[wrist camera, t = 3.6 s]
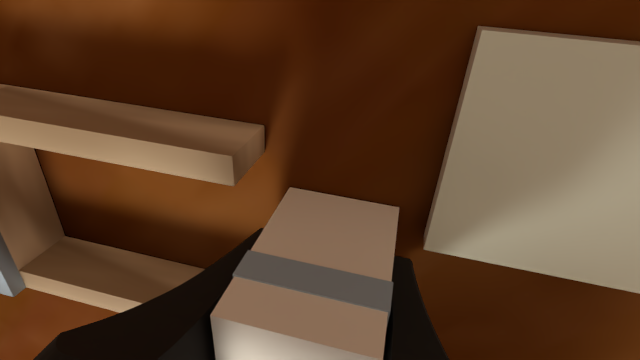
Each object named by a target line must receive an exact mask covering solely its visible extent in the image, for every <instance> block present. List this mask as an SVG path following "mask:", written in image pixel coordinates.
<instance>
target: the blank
mask: <svg viewBox="0 0 640 360" xmlns="http://www.w3.org/2000/svg"><path fill="white" fill-rule="evenodd" d="M398 216H399V207H395V206H389V205H384V204H378V203H373V202H368V201H362V200H357V199H351V198H346V197H341V196H335V195H330V194H325V193H319V192H314V191H308V190H303V189H298V188H292V187H290V188H289V189H288V191H287V192H286V194H285V196H284V197H283V199H282V200H281V202H280V204H279V205H278V207H277V208H276V210H275V212H274V213H273V215H272V217H271V218H270V220H269V221H268V223H267V225H266V226H265V228H264V229H263V231H262V233H261V234H260V236H259V237H258V239H257V241H256V242H255V244H254V246H253V247H252V249H251V250H248V251H247V252H246V254H245V255H244V257H243V259H242V260H241V262H240V263H239V265H238V267H237V268H236V270H235V271H234V273H233V279H232V281H231V283H230V284H229V286H228V287H227V289H226V291H225V292H224V294H223V295H222V297H221V299H220V300H219V302H218V303H217V305H216V307H215V308H214V310H213V312H212V313H211V315H210V319H211V327H212V334H213V342H214V350H215V358H216V360H383V355H384V345H385V336H386V329H387V324H388V320H389V316H390V311H391V301H392V291H393V282H391V281H392V271H393V262H394V253H395V244H396V234H397V225H398Z"/></svg>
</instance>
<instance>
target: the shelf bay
mask: <svg viewBox="0 0 640 360" xmlns="http://www.w3.org/2000/svg"><path fill="white" fill-rule="evenodd" d="M34 148H36V149H41V150H46V151H52V152H57V153H62V154H67V155H72V156H78V157H83V158H88V159H93V160H99V161H104V162H109V163H114V164H120V165H125V166H130V167H135V168H141V169H146V170H151V171H156V172H161V173H167V174H172V175H177V176H182V177H188V178H193V179H198V180H203V181H209V182H214V183H219V184H224V185H230V186H235V185H236V184H237V183H238V181H239V180H240V179H241V178H242V177H243V176H244V175H245V173H246V172H247V171H248V170H249V169H250V168H251V167H252V166H253V164H254V163H255V162H256V161H257V160H258V159H259V158H260V156H261V155H262V154H263V153H264V152H265V137H264V125H259V124H252V123H246V122H240V121H233V120H227V119H221V118H214V117H208V116H202V115H195V114H189V113H182V112H176V111H170V110H163V109H157V108H151V107H144V106H138V105H132V104H125V103H119V102H113V101H106V100H100V99H94V98H87V97H81V96H75V95H68V94H62V93H56V92H49V91H43V90H37V89H30V88H24V87H17V86H11V85H5V84H0V293H1V294H4V295H8V296H12V297H14V296H16V295H17V294H18V293H19V292H21V291H22V290H23V289H24V288H26V287H27V288H31V289H35V290H38V291H42V292H46V293H50V294H53V295H57V296H61V297H64V298H68V299H72V300H75V301H79V302H83V303H86V304H90V305H94V306H98V307H101V308H105V309H109V310H112V311H116V312H120V313H121V312H124V311H126V310H129V309H131V308H134V307H136V306H138V305H141V304H143V303H145V302H147V301H149V300H151V299H153V298H155V297H158V296H160V295H162V294H164V293H166V292H168V291H170V290H172V289H174V288H175V287H177V286H179V285H181V284H183V283H184V282H186V281H188V280H189V279H191V278H193V277H194V276H196V275H197V274H199V273H200V272H202V271H203V270H205V269H202V268H198V267H194V266H190V265H186V264H181V263H177V262H173V261H169V260H164V259H160V258H156V257H152V256H148V255H143V254H139V253H135V252H131V251H126V250H122V249H118V248H114V247H109V246H105V245H101V244H97V243H93V242H88V241H84V240H80V239H76V238H71V237H67V236H65V234H64V231H63V228H62V225H61V223H60V220H59V217H58V214H57V212H56V209H55V206H54V203H53V200H52V198H51V195H50V192H49V189H48V186H47V184H46V181H45V178H44V175H43V172H42V170H41V167H40V164H39V161H38V159H37V156H36V153H35V150H34Z"/></svg>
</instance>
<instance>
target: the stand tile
mask: <svg viewBox="0 0 640 360" xmlns="http://www.w3.org/2000/svg"><path fill="white" fill-rule="evenodd" d="M424 250H428V251H433V252H438V253H443V254H448V255H453V256H458V257H462V258H467V259H472V260H477V261H482V262H487V263H492V264H497V265H502V266H507V267H512V268H516V269H521V270H526V271H531V272H536V273H541V274H546V275H551V276H556V277H561V278H566V279H571V280H575V281H580V282H585V283H590V284H595V285H600V286H605V287H610V288H615V289H620V290H625V291H629V292H634V293H639V294H640V41H629V40H619V39H609V38H599V37H588V36H578V35H568V34H558V33H547V32H537V31H527V30H516V29H506V28H496V27H486V26H478V28H477V32H476V36H475V40H474V43H473V47H472V51H471V55H470V59H469V63H468V67H467V70H466V74H465V78H464V82H463V86H462V90H461V94H460V97H459V101H458V105H457V109H456V113H455V117H454V121H453V124H452V128H451V132H450V136H449V140H448V144H447V148H446V151H445V155H444V159H443V163H442V167H441V171H440V175H439V178H438V182H437V186H436V190H435V194H434V198H433V202H432V205H431V209H430V213H429V217H428V221H427V225H426V228H425V232H424Z"/></svg>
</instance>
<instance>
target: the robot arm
mask: <svg viewBox="0 0 640 360" xmlns="http://www.w3.org/2000/svg"><path fill="white" fill-rule="evenodd" d="M263 229H264V228H260V229H259V230H258V231H256V232H255V233H254V234H252V235H251V236H250V237H249V238H247V239H246V240H245V241H243V242H242V243H241V244H240V245H238V246H237V247H236V248H234V249H233V250H232V251H230V252H229V253H228V254H226V255H225V256H224V257H222V258H221V259H220V260H218V261H217V262H215V263H214V264H212V265H211V266H209V267H208V268H206V269H205V270H203V271H202V272H200V273H199V274H197V275H196V276H194V277H193V278H191V279H189V280H188V281H186V282H184V283H183V284H181V285H179V286H177V287H175V288H174V289H172V290H170V291H168V292H166V293H164V294H162V295H160V296H158V297H155V298H153V299H151V300H149V301H147V302H145V303H143V304H141V305H138V306H136V307H134V308H131V309H129V310H126V311H124V312H121V313H119V314H116V315H114V316H111V317H108V318H106V319H103V320H100V321H97V322H94V323H91V324H88V325H84V326H81V327H78V328H75V329H72V330H69V331H65V332H62V333H60V334H59V335H58V336H57V337H56V338H55V339H54V340H53V341H52V342H51V343H50V344H48V345H47V346H46V347H45V348H44V349H43V350H42V351H41V352H40V353H39V354H38V355H37V356H36V357H35V358H34V359H33V360H216V358H215V350H214V342H213V334H212V327H211V319H210V315H211V313H212V312H213V310H214V308H215V307H216V305H217V303H218V302H219V300H220V299H221V297H222V295H223V294H224V292H225V291H226V289H227V287H228V286H229V284H230V283H231V281H232V279H233V273H234V271H235V270H236V268H237V267H238V265H239V263H240V262H241V260H242V259H243V257H244V255H245V254H246V252H247V251H248V250H251V249H252V247H253V246H254V244H255V242H256V241H257V239H258V237H259V236H260V234H261V233H262V231H263ZM391 282H393V291H392V301H391V311H390V316H389V320H388V324H387V329H386V336H385V345H384V355H383V360H449V358H448V356H447V354H446V352H445V350H444V348H443V346H442V345H441V342H440V340H439V338H438V336H437V334H436V332H435V330H434V327H433V325H432V323H431V321H430V318H429V316H428V313H427V311H426V308H425V305H424V303H423V300H422V297H421V294H420V291H419V288H418V285H417V281H416V278H415V274H414V269H413V264H412V261H411V260H410V259H408V258H403V257H398V256H394V262H393V271H392V281H391Z"/></svg>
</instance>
